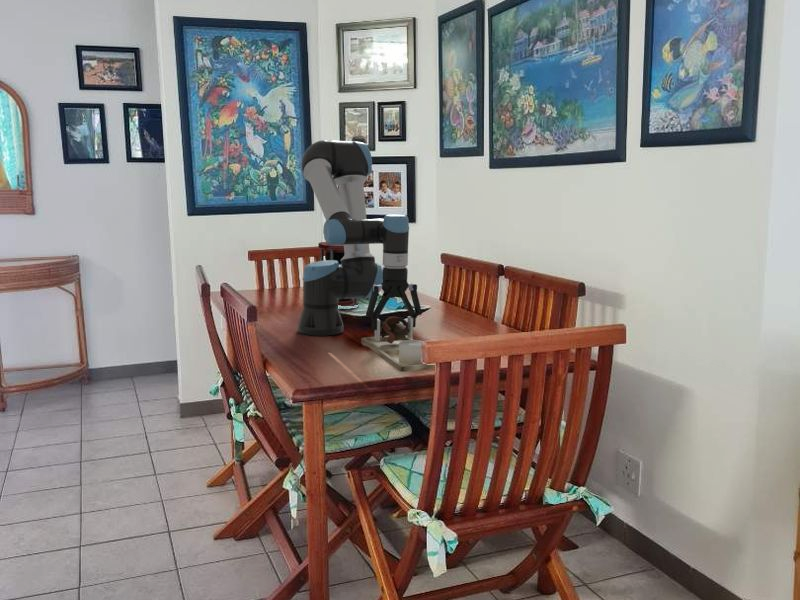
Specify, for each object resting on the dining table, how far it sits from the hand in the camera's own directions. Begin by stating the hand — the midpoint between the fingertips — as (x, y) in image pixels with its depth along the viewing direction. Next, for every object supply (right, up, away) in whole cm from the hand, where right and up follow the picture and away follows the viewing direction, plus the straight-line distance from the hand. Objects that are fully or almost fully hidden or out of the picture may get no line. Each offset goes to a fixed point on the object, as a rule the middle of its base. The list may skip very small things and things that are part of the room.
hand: (393, 339), depth 223 cm
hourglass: (-22, +9, +65) cm, 70 cm away
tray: (+3, -5, -7) cm, 9 cm away
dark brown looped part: (-1, -1, +1) cm, 2 cm away
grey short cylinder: (+6, -5, -15) cm, 17 cm away
